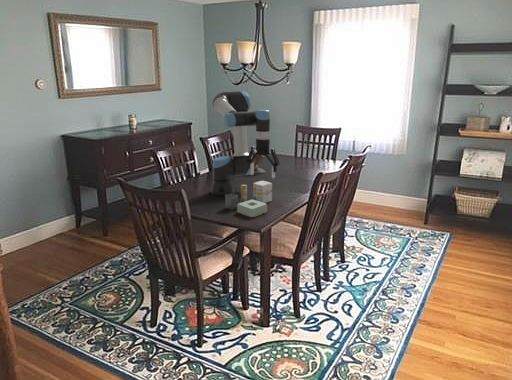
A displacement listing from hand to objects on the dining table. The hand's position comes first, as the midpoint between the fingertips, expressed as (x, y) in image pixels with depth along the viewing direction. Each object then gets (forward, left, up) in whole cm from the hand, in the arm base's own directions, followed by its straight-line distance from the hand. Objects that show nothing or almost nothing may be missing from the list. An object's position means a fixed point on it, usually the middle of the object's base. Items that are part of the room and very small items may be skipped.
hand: (262, 176), depth 228 cm
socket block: (-2, -6, -20) cm, 22 cm away
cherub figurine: (-68, +62, -21) cm, 94 cm away
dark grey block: (-16, -9, -21) cm, 28 cm away
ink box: (-12, +13, -21) cm, 27 cm away
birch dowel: (-15, 0, -20) cm, 25 cm away
